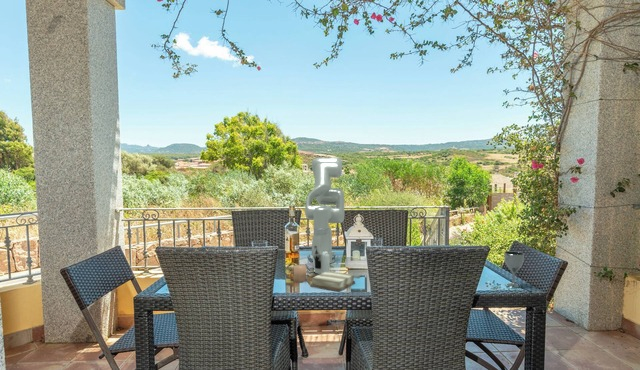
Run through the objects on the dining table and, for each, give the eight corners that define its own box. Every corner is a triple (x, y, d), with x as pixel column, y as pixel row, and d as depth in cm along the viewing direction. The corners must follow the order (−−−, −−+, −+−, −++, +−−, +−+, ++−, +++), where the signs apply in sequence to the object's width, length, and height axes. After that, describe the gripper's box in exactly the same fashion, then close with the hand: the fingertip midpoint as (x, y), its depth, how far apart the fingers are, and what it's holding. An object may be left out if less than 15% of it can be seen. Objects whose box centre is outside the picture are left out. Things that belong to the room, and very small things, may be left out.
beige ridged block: (327, 278, 204) (327, 270, 204) (355, 283, 196) (355, 274, 196) (310, 286, 192) (310, 277, 191) (339, 291, 184) (339, 282, 184)
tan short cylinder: (298, 278, 205) (298, 264, 205) (308, 280, 202) (308, 265, 202) (291, 281, 200) (291, 266, 200) (301, 283, 197) (301, 268, 197)
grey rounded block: (311, 272, 216) (311, 248, 216) (318, 270, 219) (317, 247, 218) (324, 276, 208) (324, 251, 208) (331, 274, 211) (330, 250, 210)
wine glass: (524, 284, 193) (525, 252, 192) (521, 289, 186) (522, 255, 185) (505, 282, 197) (506, 250, 196) (502, 286, 191) (502, 253, 190)
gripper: (323, 228, 222) (323, 262, 223) (305, 233, 207) (305, 269, 208) (335, 229, 218) (336, 264, 219) (318, 234, 203) (318, 271, 204)
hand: (321, 266), depth 214 cm, fingers closed on grey rounded block, 5 cm apart
